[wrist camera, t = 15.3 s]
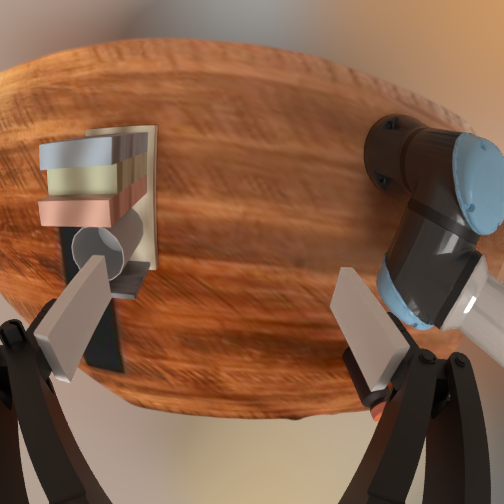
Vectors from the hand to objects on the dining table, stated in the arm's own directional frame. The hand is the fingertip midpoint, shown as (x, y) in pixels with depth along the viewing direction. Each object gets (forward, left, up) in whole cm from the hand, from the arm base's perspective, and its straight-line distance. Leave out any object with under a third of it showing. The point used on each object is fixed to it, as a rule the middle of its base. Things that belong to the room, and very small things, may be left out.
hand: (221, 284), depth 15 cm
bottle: (-34, +39, -31) cm, 60 cm away
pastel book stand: (+17, +4, -31) cm, 35 cm away
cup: (+17, +8, -29) cm, 35 cm away
